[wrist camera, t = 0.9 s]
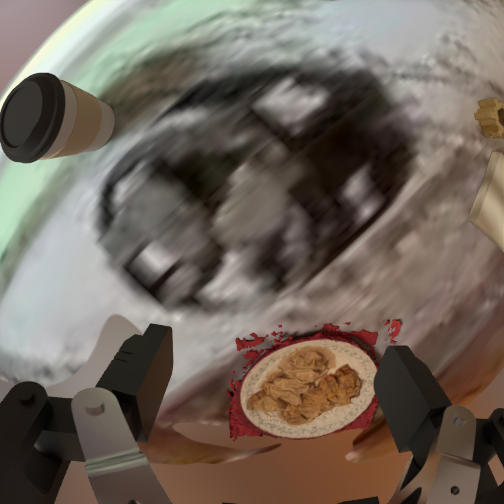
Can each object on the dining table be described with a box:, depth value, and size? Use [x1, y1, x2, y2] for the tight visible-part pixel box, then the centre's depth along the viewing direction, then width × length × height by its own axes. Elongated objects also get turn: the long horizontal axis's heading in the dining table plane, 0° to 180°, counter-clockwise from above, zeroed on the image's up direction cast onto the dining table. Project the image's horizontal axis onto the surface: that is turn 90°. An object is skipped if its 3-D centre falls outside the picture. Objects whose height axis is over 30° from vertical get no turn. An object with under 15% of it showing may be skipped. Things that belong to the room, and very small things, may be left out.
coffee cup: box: [0, 73, 115, 163], centre depth 24 cm, size 9×9×15 cm
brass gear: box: [474, 98, 504, 138], centre depth 27 cm, size 6×6×4 cm
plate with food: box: [227, 320, 401, 441], centre depth 41 cm, size 24×26×3 cm
